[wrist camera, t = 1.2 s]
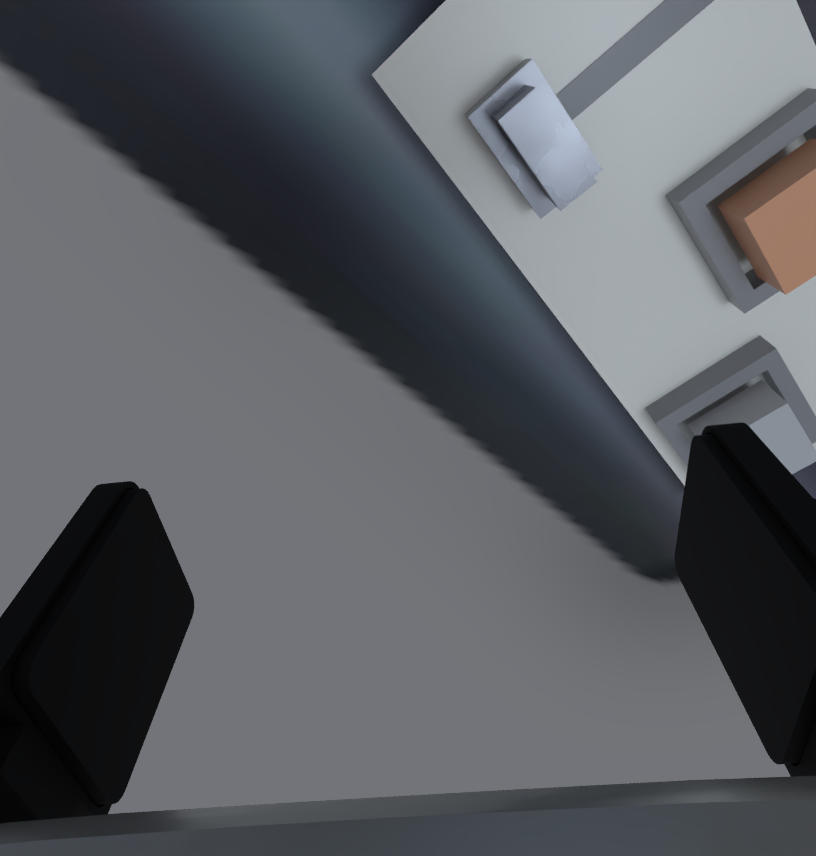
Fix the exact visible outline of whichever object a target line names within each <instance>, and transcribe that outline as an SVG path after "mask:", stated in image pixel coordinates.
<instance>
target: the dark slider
mask: <svg viewBox="0 0 816 856" xmlns="http://www.w3.org/2000/svg"><path fill="white" fill-rule="evenodd" d="M465 115H466V116H467V118H468V119H469V120H470V122H471V123H472V125H473V126H474V128H475V129H476V130H477V132H478V133H479V135H480V136H481V137H482V139H483V140H484V142H485V143H486V144H487V146H488V147H489V149H490V150H491V151H492V153H493V154H494V156H495V157H496V158H497V160H498V161H499V163H500V164H501V165H502V167H503V168H504V170H505V171H506V172H507V174H508V175H509V177H510V178H511V179H512V181H513V182H514V184H515V185H516V186H517V188H518V189H519V191H520V192H521V193H522V195H523V196H524V198H525V199H526V200H527V202H528V203H529V205H530V206H531V207H532V209H533V210H534V212H535V213H536V214H537V215H538V216H539V218H540V219H542V218H543V217H544V216H545V215H547V214H548V213H549V212H550V211H552V210H553V209H554V208H555V207H557V208H558V209H559V210H560V211H561V210H562V209H564V208H565V207H566V206H567V205H569V204H570V203H571V202H572V201H574V200H575V199H576V198H577V197H579V196H580V195H581V194H582V193H584V192H585V191H586V190H588V189H589V188H590V187H591V186H593V185H594V184H595V183H596V182H597V181H596V179H595V178H594V176H596V175H597V174H598V173H599V172H601V171H602V170H603V169H602V167H601V165H600V164H599V162H598V161H597V159H596V158H595V156H594V154H593V153H592V151H591V150H590V148H589V147H588V145H587V143H586V142H585V140H584V139H583V137H582V136H581V134H580V132H579V131H578V129H577V128H576V126H575V125H574V123H573V121H572V120H571V118H570V117H569V115H568V114H567V112H566V110H565V109H564V107H563V106H562V104H561V103H560V101H559V99H558V98H557V96H556V95H555V93H554V92H553V90H552V88H551V87H550V85H549V84H548V82H547V81H546V79H545V77H544V76H543V74H542V73H541V71H540V70H539V68H538V66H537V65H536V63H535V62H534V60H533V59H525V60H523V61H522V62H521V63H520V64H519V65H518V66H517V67H516V68H515V69H514V70H512V71H511V72H510V73H509V74H508V75H507V76H506V77H505V78H504V79H503V80H501V81H500V82H499V83H498V84H497V85H496V86H495V87H494V88H493V89H492V90H491V91H489V92H488V93H487V94H486V95H485V96H484V97H483V98H482V99H481V100H480V101H478V102H477V103H476V104H475V105H474V106H473V107H472V108H471V109H470V110H469V111H467V112H466V113H465Z"/></svg>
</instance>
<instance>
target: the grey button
mask: <svg viewBox="0 0 816 856" xmlns="http://www.w3.org/2000/svg"><path fill="white" fill-rule="evenodd" d="M739 422H742V423H746V424H747V425H748V426H749V427H750V428H751V429H752V430H753V431H754V432H755V433H756V435H757V436H758V437H759V438H760V439H761V440H762V441H763V442H764V444H765V445H766V446H767V447H768V448H769V449H770V450H771V451H772V453H773V454H774V455H775V456H776V457H777V458H778V459H779V460H780V462H781V463H782V464H783V465H784V466H785V467H786V468H787V469H788V471H789V472H790V473H791V474H793V473H795V472H797V471H799V470H801V469H803V468H804V467H806V466H808V465H810V464H812V463H814V462H816V450H815V448H814V446H813V445H812V443H811V441H810V440H809V438H808V436H807V435H806V433H805V431H804V430H803V428H802V426H801V425H800V423H799V421H798V420H797V418H796V416H795V415H794V413H793V411H792V410H791V408H790V406H789V405H788V403H787V402H786V401H785V400H784V399H782V398H781V397H780V396H779V395H778V394H777V393H776V392H775V391H774V390H773V389H772V388H771V387H769V386H768V385H767V384H766V383H765V382H764V381H763V380H760V381H758V382H757V383H755V384H753V385H752V386H750V387H748V388H747V389H745V390H743V391H742V392H740V393H738V394H737V395H735V396H733V397H732V398H730V399H729V400H727V401H725V402H724V403H722V404H720V405H719V406H717V407H715V408H714V409H712V410H710V411H709V412H707V413H705V414H704V415H702V416H700V417H699V418H697V419H695V420H694V421H692V422H690V423H689V424H687V425H688V427H689V428H690V430H691V431H692V432H693V434H694V435H695V436H696V435H702V431H703V429H704V428H705V427H706V426H708V425H719V424H729V423H739Z"/></svg>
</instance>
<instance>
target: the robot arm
mask: <svg viewBox="0 0 816 856" xmlns="http://www.w3.org/2000/svg"><path fill="white" fill-rule="evenodd" d="M675 565H676V570H677V573H678V576H679V578H680V580H681V582H682V584H683V586H684V588H685V590H686V592H687V594H688V596H689V598H690V600H691V602H692V604H693V606H694V608H695V610H696V612H697V614H698V616H699V618H700V620H701V622H702V624H703V626H704V628H705V630H706V632H707V634H708V636H709V638H710V640H711V642H712V644H713V646H714V648H715V650H716V652H717V654H718V656H719V658H720V660H721V661H722V664H723V666H724V668H725V670H726V672H727V674H728V676H729V678H730V680H731V682H732V683H733V686H734V688H735V690H736V692H737V693H738V696H739V697H740V699H741V702H742V704H743V705H744V707H745V709H746V712H747V714H748V715H749V718H750V719H751V721H752V723H753V725H754V727H755V729H756V731H757V733H758V735H759V737H760V739H761V741H762V743H763V745H764V747H765V749H766V751H767V753H768V755H769V756H770V758H771V759H772V760H773V762H775V763H776V764H785V766H786V768H787V770H788V772H789V774H790V776H791V777H770V778H744V779H714V780H687V781H668V782H649V783H630V784H613V785H612V784H611V785H593V786H573V787H554V788H538V789H537V788H535V789H518V790H517V789H516V790H498V791H481V792H466V793H465V792H463V793H447V794H429V795H411V796H394V797H377V798H361V799H343V800H326V801H310V802H294V803H276V804H260V805H244V806H229V807H213V808H198V809H183V810H166V811H151V812H135V813H120V814H108V812H109V810H110V807H111V805H112V804H115V803H117V802H118V801H119V800H120V799H121V797H122V796H123V794H124V792H125V789H126V787H127V784H128V782H129V779H130V777H131V774H132V771H133V769H134V766H135V763H136V761H137V758H138V756H139V753H140V750H141V748H142V746H143V743H144V740H145V738H146V735H147V732H148V730H149V727H150V725H151V722H152V720H153V717H154V714H155V712H156V709H157V707H158V704H159V701H160V699H161V696H162V693H163V691H164V689H165V686H166V683H167V681H168V678H169V675H170V673H171V670H172V668H173V665H174V663H175V660H176V658H177V655H178V652H179V650H180V647H181V644H182V642H183V639H184V637H185V634H186V631H187V629H188V626H189V624H190V621H191V619H192V616H193V612H194V598H193V595H192V592H191V590H190V587H189V585H188V583H187V580H186V578H185V576H184V573H183V571H182V569H181V567H180V564H179V562H178V560H177V557H176V555H175V553H174V550H173V548H172V546H171V543H170V541H169V539H168V536H167V534H166V532H165V529H164V527H163V525H162V522H161V520H160V518H159V516H158V513H157V511H156V509H155V506H154V504H153V502H152V499H151V497H150V495H149V494H148V491H146V490H145V489H142V488H141V489H139V487H138V486H137V485H136V484H135V483H134V482H130V481H129V482H118V483H108V484H100V485H97V486H96V487H95V488H94V489H93V490H92V491H91V493H90V494H89V496H88V497H87V498H86V500H85V501H84V502H83V504H82V505H81V506H80V508H79V509H78V511H77V512H76V513H75V515H74V516H73V518H72V519H71V520H70V522H69V523H68V524H67V526H66V527H65V529H64V530H63V531H62V533H61V534H60V536H59V537H58V538H57V540H56V541H55V543H54V544H53V545H52V547H51V548H50V549H49V551H48V552H47V554H46V555H45V556H44V558H43V559H42V560H41V562H40V563H39V565H38V566H37V567H36V569H35V570H34V572H33V573H32V574H31V576H30V577H29V578H28V580H27V581H26V583H25V584H24V585H23V587H22V588H21V590H20V591H19V592H18V594H17V595H16V597H15V598H14V599H13V601H12V602H11V603H10V605H9V606H8V608H7V609H6V610H5V612H4V613H3V614H2V616H1V617H0V856H816V499H813V498H812V497H811V495H810V494H809V493H808V492H807V491H806V490H805V489H804V488H803V486H802V485H801V484H800V483H799V482H798V481H797V480H796V479H795V477H794V476H793V475H792V474H791V473H790V472H789V471H788V469H787V468H786V467H785V466H784V465H783V464H782V463H781V462H780V460H779V459H778V458H777V457H776V456H775V455H774V454H773V453H772V451H771V450H770V449H769V448H768V447H767V446H766V445H765V444H764V442H763V441H762V440H761V439H760V438H759V437H758V436H757V435H756V433H755V432H754V431H753V430H752V429H751V428H750V427H749V426H748V425H747V424H746V423H742V422H739V423H729V424H719V425H708V426H706V427H705V428H704V429H703V431H702V435H696V436H694V437H693V439H692V441H691V447H690V453H689V460H688V467H687V474H686V481H685V488H684V495H683V502H682V509H681V516H680V522H679V529H678V536H677V543H676V550H675Z"/></svg>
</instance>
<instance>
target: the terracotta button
mask: <svg viewBox="0 0 816 856" xmlns="http://www.w3.org/2000/svg"><path fill="white" fill-rule="evenodd" d="M718 207H719V209H720V211H721V213H722V215H723V216H724V218H725V220H726V222H727V223H728V225H729V227H730V229H731V231H732V232H733V234H734V236H735V238H736V239H737V241H738V243H739V245H740V247H741V248H742V250H743V252H744V254H745V255H746V257H747V259H748V261H749V263H750V264H751V266H752V268H753V270H754V271H755V273H756V275H757V277H758V278H760V279H762V280H763V281H765V282H766V283H768V284H769V285H771V286H773V287H774V288H776V289H777V290H779V291H780V292H782V293H784V294H785V295H786V294H788V293H789V292H791V291H793V290H794V289H796V288H797V287H799V286H800V285H802V284H803V283H805V282H806V281H808V280H810V279H811V278H813V277H814V276H816V139H812V138H811V139H809V140H808V141H806V142H805V143H804V144H802V145H801V146H800V147H798V148H797V149H795V150H794V151H793V152H791V153H790V154H788V155H787V156H786V157H784V158H783V159H782V160H780V161H779V162H777V163H776V164H775V165H773V166H772V167H770V168H769V169H768V170H766V171H765V172H764V173H762V174H761V175H759V176H758V177H757V178H755V179H754V180H752V181H751V182H750V183H748V184H747V185H746V186H744V187H743V188H741V189H740V190H739V191H737V192H736V193H734V194H733V195H732V196H730V197H729V198H728V199H726V200H725V201H723V202H722V203H721V204H719V205H718Z"/></svg>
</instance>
